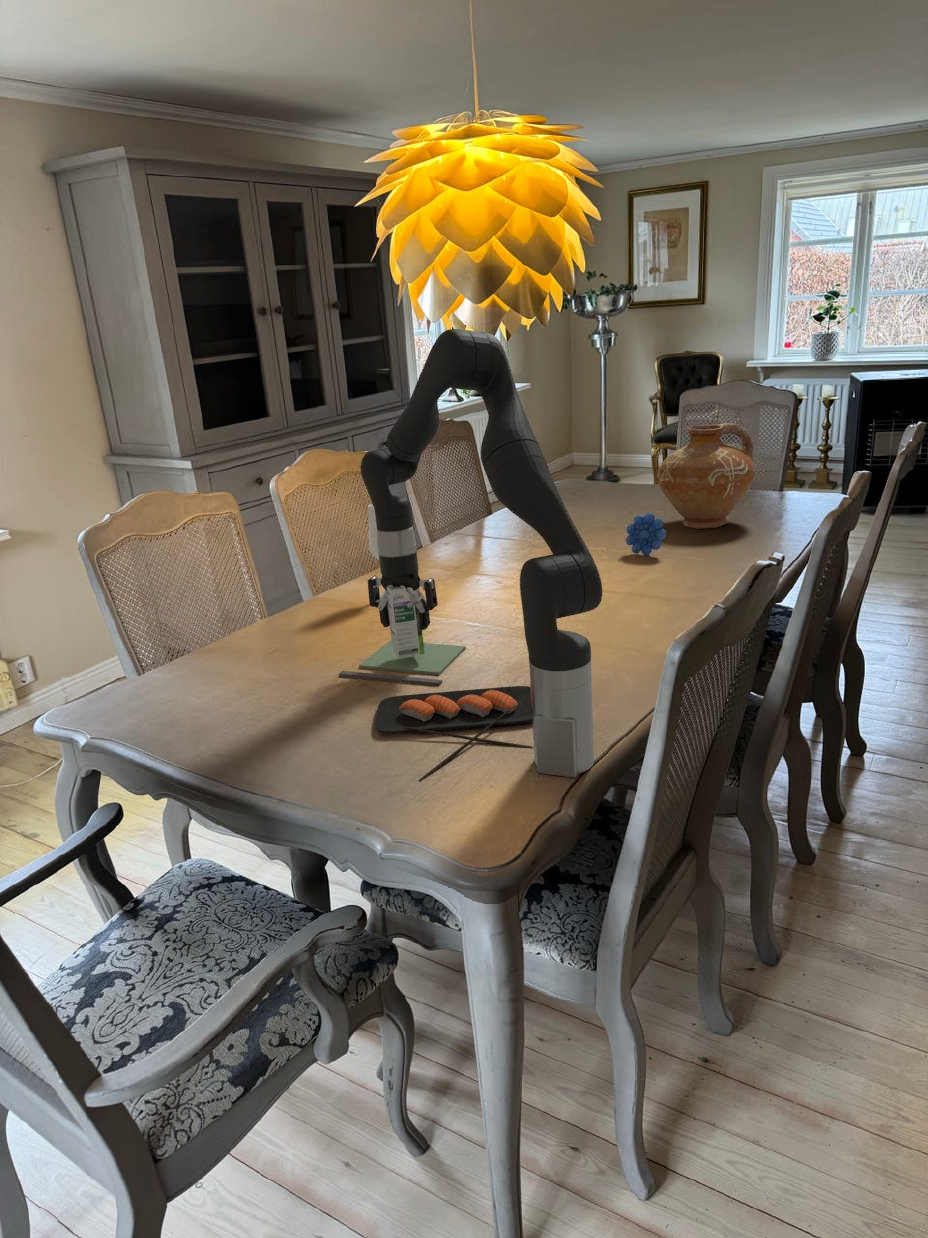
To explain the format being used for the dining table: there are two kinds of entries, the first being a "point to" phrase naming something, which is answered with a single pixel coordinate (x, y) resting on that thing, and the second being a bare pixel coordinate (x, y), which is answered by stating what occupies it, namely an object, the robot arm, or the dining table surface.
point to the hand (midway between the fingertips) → (405, 627)
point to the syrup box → (404, 623)
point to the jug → (708, 475)
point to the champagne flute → (373, 535)
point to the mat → (414, 659)
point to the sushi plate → (456, 713)
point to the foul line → (391, 678)
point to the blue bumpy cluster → (645, 534)
